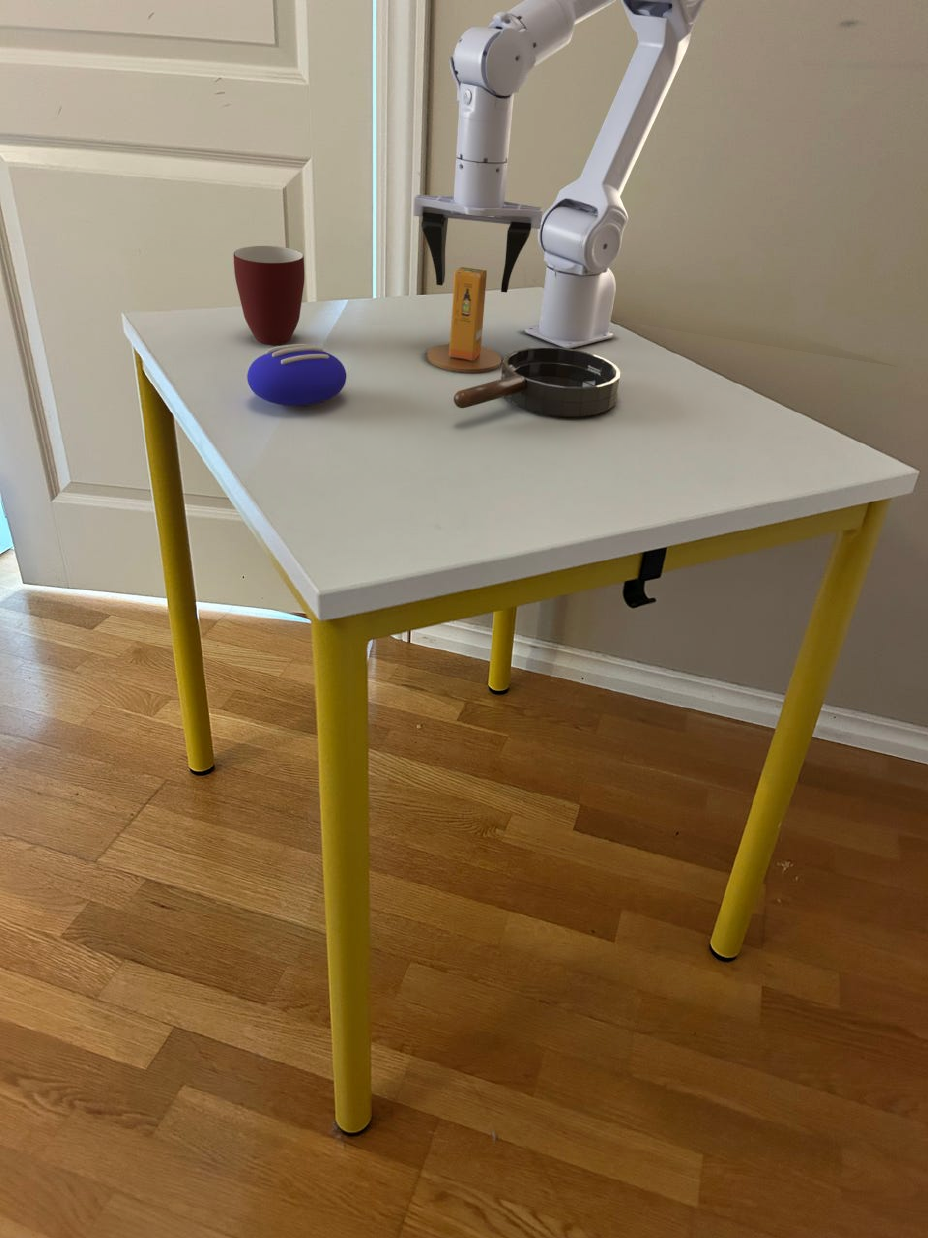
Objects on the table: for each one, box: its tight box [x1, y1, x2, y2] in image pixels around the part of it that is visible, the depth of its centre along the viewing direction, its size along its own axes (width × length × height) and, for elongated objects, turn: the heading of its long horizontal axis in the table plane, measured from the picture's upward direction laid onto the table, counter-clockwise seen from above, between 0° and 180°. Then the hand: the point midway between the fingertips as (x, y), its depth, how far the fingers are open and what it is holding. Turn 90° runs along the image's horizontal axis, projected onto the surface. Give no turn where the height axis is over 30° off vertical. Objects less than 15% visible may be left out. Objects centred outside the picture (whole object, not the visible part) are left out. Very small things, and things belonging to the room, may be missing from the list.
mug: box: [232, 245, 306, 346], centre depth 106 cm, size 10×8×10 cm
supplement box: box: [449, 266, 488, 361], centre depth 104 cm, size 3×3×10 cm
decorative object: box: [246, 343, 348, 407], centre depth 92 cm, size 10×6×10 cm
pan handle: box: [453, 375, 526, 409], centre depth 92 cm, size 10×2×2 cm, turn 133°
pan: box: [500, 346, 621, 418], centre depth 99 cm, size 13×13×4 cm
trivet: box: [427, 343, 502, 374], centre depth 107 cm, size 9×9×1 cm
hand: (472, 286), depth 104 cm, fingers open, 7 cm apart
